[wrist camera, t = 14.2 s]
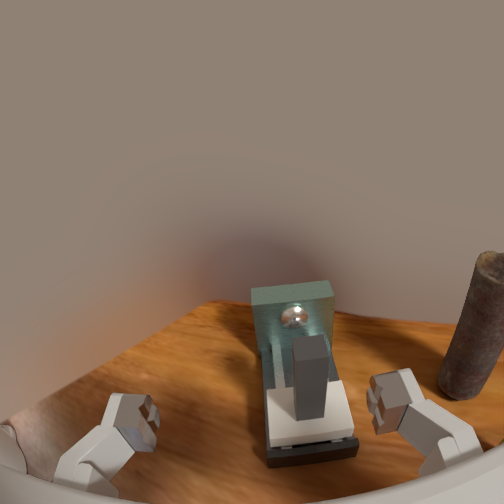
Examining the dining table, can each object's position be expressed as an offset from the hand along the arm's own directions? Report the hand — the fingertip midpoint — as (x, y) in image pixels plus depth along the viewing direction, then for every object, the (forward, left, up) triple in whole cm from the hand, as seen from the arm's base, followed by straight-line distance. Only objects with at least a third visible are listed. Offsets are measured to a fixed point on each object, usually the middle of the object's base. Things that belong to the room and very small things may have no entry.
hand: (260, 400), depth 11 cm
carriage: (+4, +14, -23) cm, 27 cm away
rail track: (+4, +20, -26) cm, 33 cm away
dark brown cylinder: (+26, +15, -26) cm, 40 cm away
